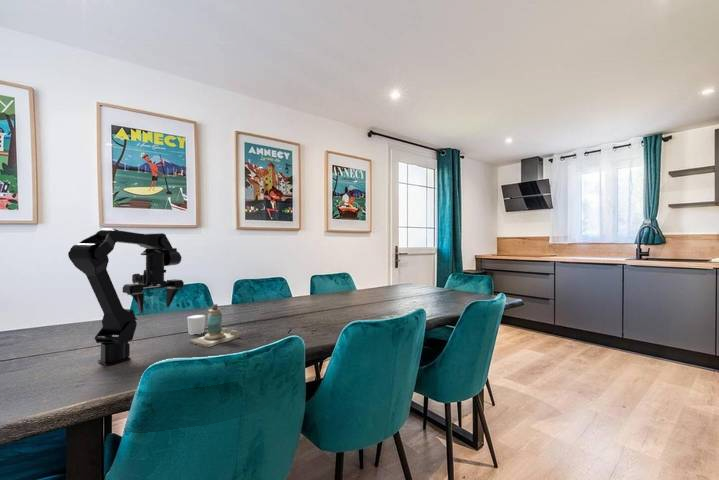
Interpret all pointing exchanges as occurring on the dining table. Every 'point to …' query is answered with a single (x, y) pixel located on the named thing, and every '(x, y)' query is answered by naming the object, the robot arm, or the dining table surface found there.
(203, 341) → the notched board
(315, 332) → the dining table surface
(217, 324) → the bobbin
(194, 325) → the white rounded piece
